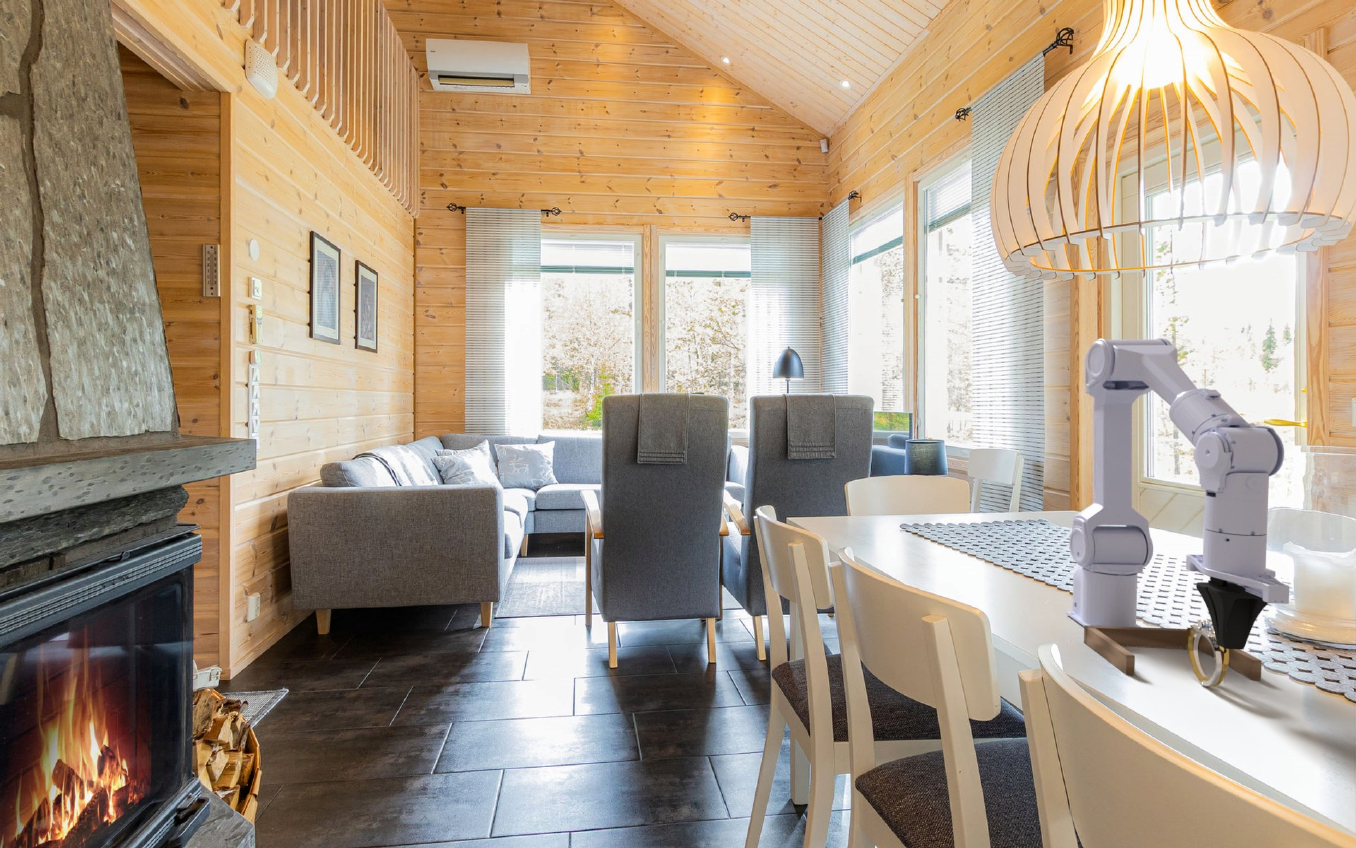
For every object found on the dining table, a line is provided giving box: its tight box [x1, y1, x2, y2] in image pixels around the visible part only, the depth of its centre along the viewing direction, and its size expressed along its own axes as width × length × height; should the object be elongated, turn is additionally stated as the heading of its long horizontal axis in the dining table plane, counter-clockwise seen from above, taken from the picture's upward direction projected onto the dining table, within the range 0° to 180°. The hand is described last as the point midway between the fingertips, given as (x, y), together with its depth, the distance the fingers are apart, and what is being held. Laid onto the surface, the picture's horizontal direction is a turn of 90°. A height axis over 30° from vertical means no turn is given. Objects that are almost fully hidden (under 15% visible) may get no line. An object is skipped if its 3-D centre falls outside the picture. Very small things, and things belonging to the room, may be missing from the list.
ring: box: [1186, 619, 1229, 688], centre depth 86 cm, size 7×3×8 cm, turn 165°
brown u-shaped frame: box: [1083, 625, 1262, 681], centre depth 94 cm, size 12×16×2 cm
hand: (1230, 647), depth 81 cm, fingers closed
